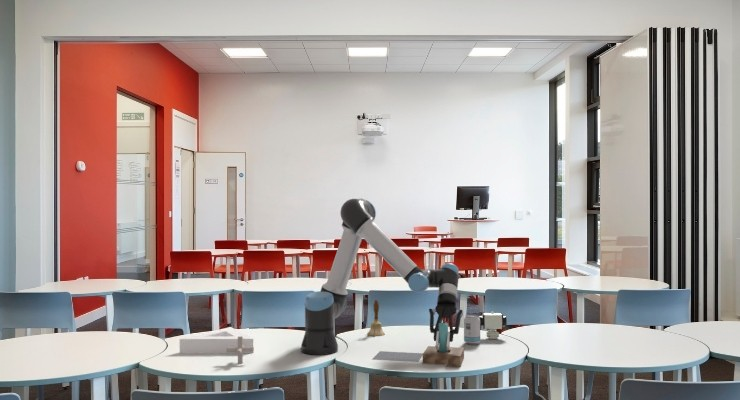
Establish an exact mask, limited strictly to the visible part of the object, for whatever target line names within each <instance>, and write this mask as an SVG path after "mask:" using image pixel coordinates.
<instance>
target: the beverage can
mask: <svg viewBox="0 0 740 400" xmlns="http://www.w3.org/2000/svg"><path fill="white" fill-rule="evenodd" d="M463 343H466V345H469V346H476V345H478V344H479V343H481V326H480V319H479V315H478V314H465V317H464V318H463Z"/></svg>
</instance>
